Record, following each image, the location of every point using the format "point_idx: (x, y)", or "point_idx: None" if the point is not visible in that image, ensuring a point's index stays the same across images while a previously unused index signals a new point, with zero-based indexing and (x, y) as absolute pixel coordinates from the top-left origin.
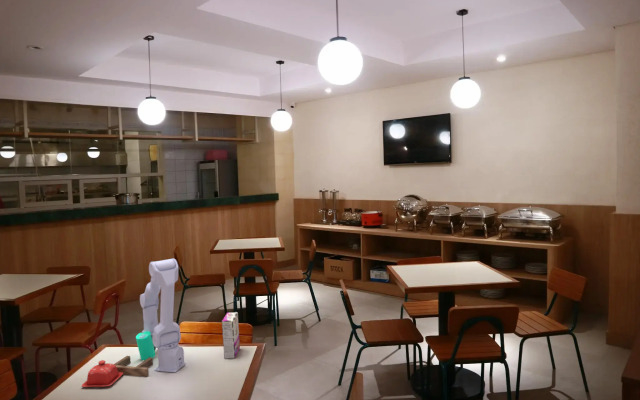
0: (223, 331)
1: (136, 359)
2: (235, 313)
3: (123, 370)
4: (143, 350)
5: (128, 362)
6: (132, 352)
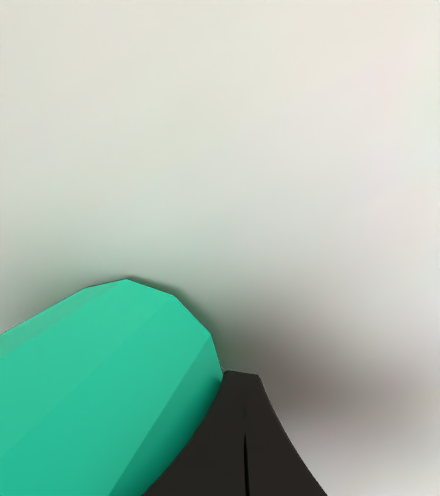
0: None
1: (78, 227)
2: None
3: None
4: None
5: None
6: (335, 9)
